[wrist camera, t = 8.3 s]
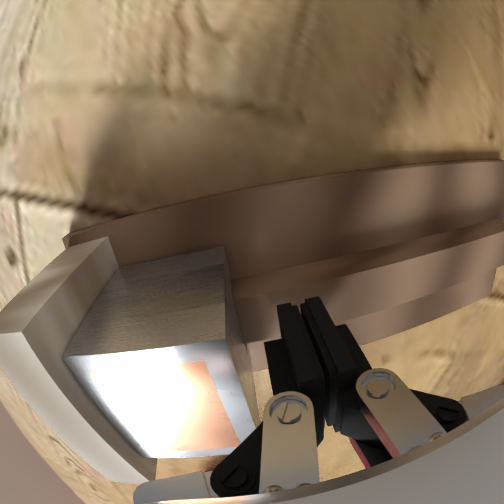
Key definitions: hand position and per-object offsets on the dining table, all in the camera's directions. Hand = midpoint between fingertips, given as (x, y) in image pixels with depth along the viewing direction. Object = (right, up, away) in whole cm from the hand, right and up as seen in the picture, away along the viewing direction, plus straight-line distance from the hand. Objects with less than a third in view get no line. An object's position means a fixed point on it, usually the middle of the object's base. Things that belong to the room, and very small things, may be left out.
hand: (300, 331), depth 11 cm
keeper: (-5, 0, +3) cm, 6 cm away
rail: (+3, +2, +4) cm, 5 cm away
